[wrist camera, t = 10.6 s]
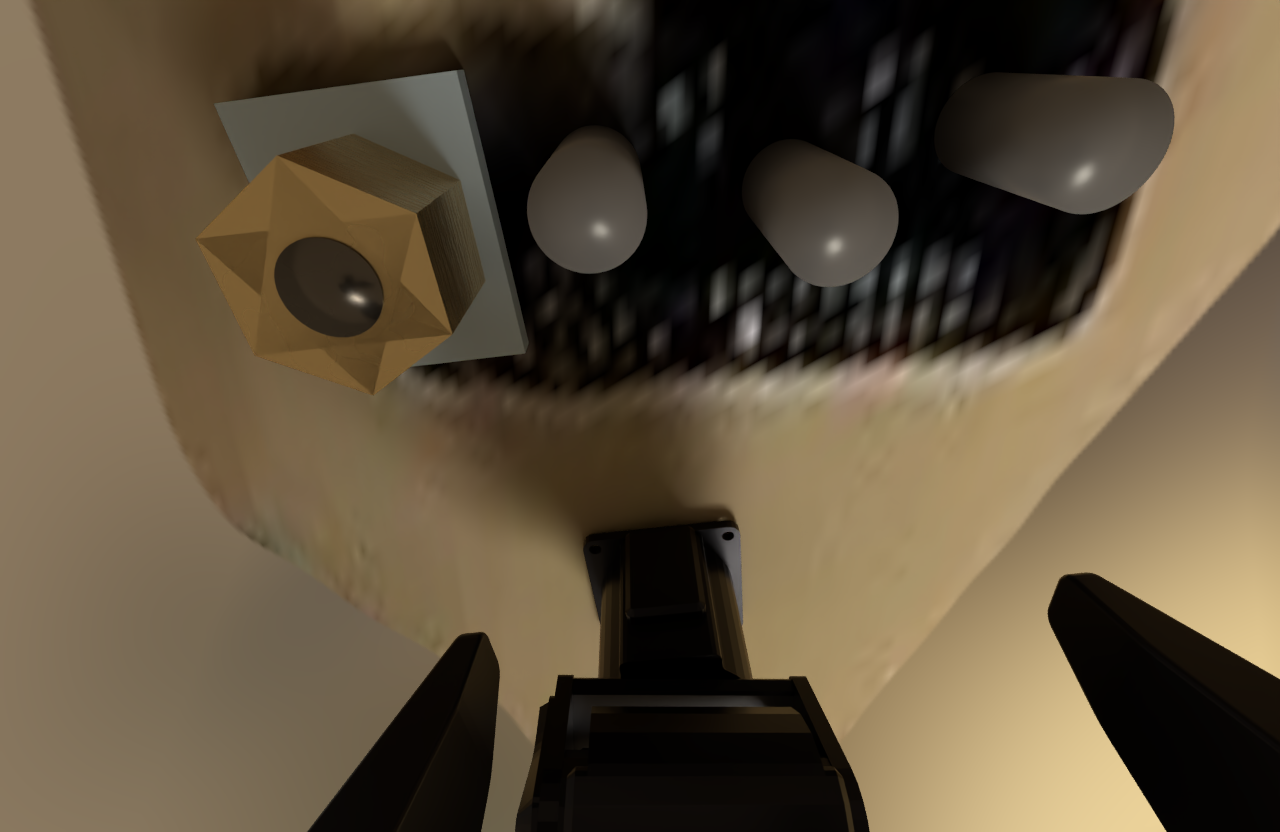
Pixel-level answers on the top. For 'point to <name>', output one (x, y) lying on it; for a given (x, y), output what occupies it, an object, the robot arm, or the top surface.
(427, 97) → the pad
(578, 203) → the spacer field
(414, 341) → the hex nut
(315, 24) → the top surface
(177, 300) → the top surface
